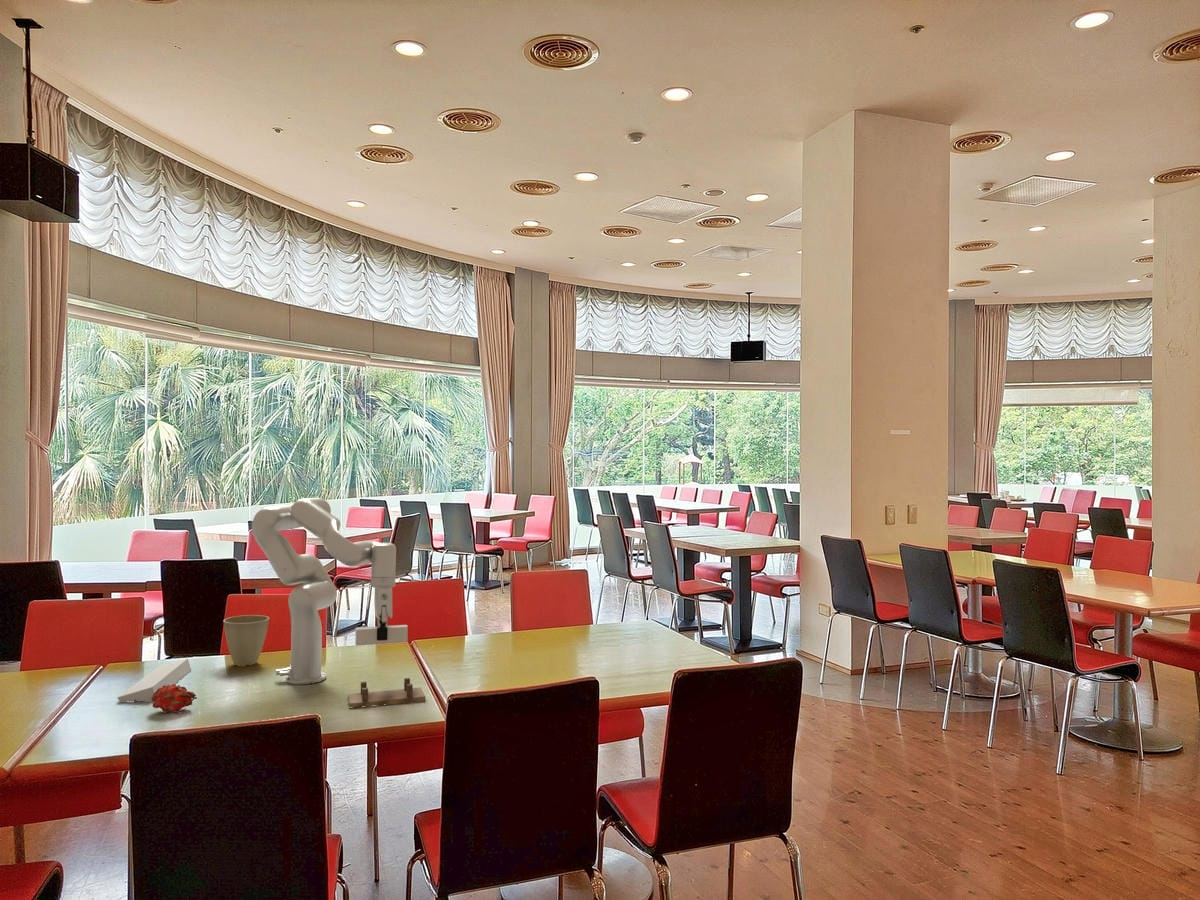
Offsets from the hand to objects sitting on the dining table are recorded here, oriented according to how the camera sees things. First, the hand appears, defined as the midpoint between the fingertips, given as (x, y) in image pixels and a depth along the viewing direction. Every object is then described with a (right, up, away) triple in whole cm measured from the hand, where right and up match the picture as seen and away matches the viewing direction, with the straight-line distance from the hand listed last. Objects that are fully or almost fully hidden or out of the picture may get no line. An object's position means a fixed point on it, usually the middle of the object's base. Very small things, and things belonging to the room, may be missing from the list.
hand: (381, 638), depth 257 cm
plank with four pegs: (+5, -16, -13) cm, 21 cm away
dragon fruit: (-53, -15, -25) cm, 61 cm away
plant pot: (-56, -16, +27) cm, 64 cm away
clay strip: (0, -1, 0) cm, 1 cm away
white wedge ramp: (-72, -16, 0) cm, 74 cm away
